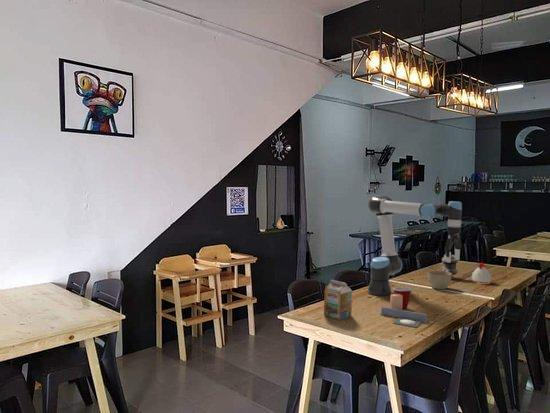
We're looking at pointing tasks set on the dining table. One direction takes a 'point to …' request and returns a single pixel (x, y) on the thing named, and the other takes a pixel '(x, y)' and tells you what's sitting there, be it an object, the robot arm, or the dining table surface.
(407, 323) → the resting mat
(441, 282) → the planter bowl
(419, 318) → the divider wall
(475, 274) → the kitchen timer
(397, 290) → the plastic cup
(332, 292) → the milk carton
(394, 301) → the beige small cylinder
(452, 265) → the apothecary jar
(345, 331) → the dining table surface
